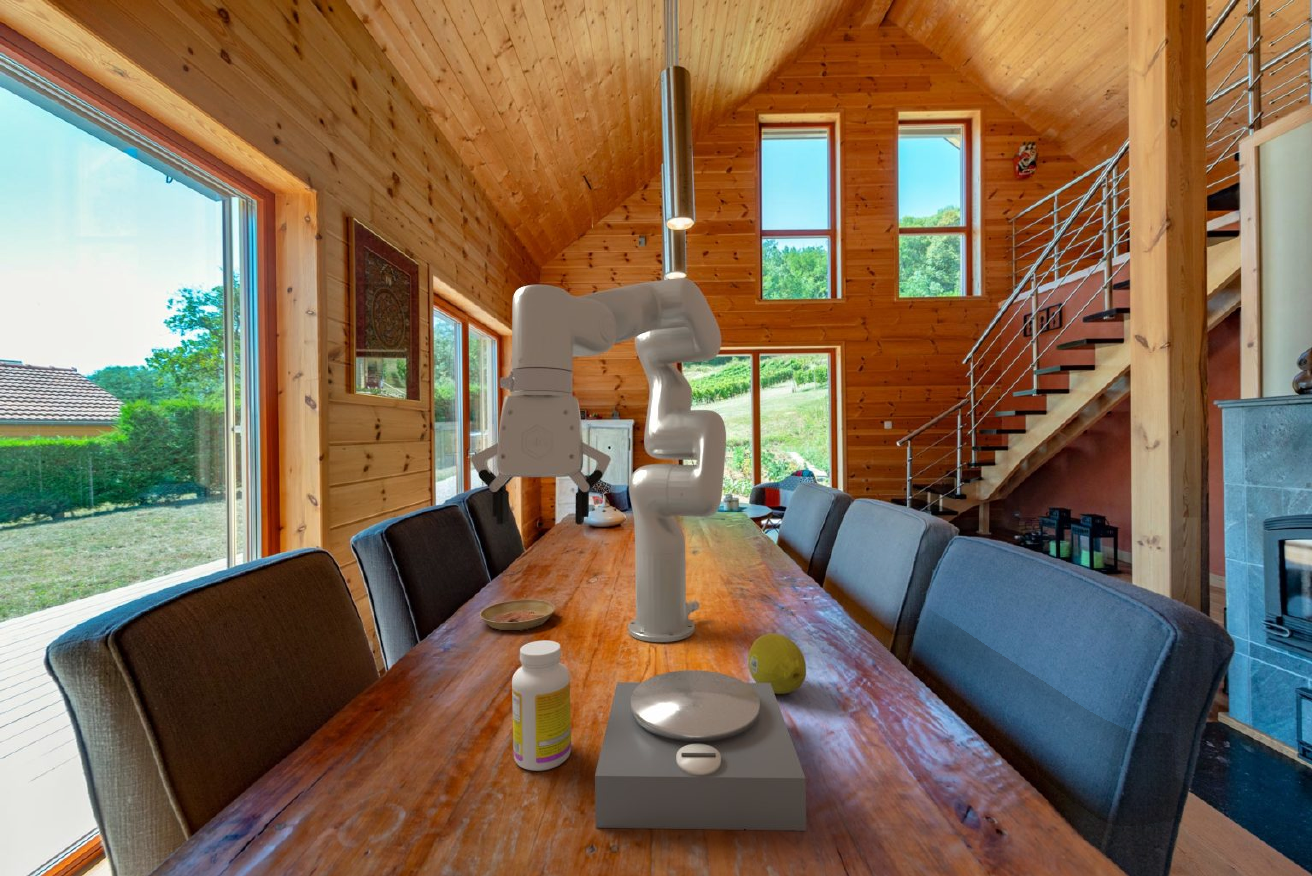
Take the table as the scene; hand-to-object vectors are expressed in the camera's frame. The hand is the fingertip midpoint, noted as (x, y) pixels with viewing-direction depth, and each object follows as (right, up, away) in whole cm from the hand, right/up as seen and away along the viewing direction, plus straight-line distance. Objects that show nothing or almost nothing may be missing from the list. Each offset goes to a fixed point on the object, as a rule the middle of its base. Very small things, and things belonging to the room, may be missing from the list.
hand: (541, 523), depth 70 cm
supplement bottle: (+1, -27, -4) cm, 27 cm away
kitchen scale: (+19, -26, -7) cm, 33 cm away
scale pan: (+19, -21, -4) cm, 28 cm away
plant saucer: (-13, -27, +43) cm, 52 cm away
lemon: (+32, -26, +11) cm, 43 cm away
